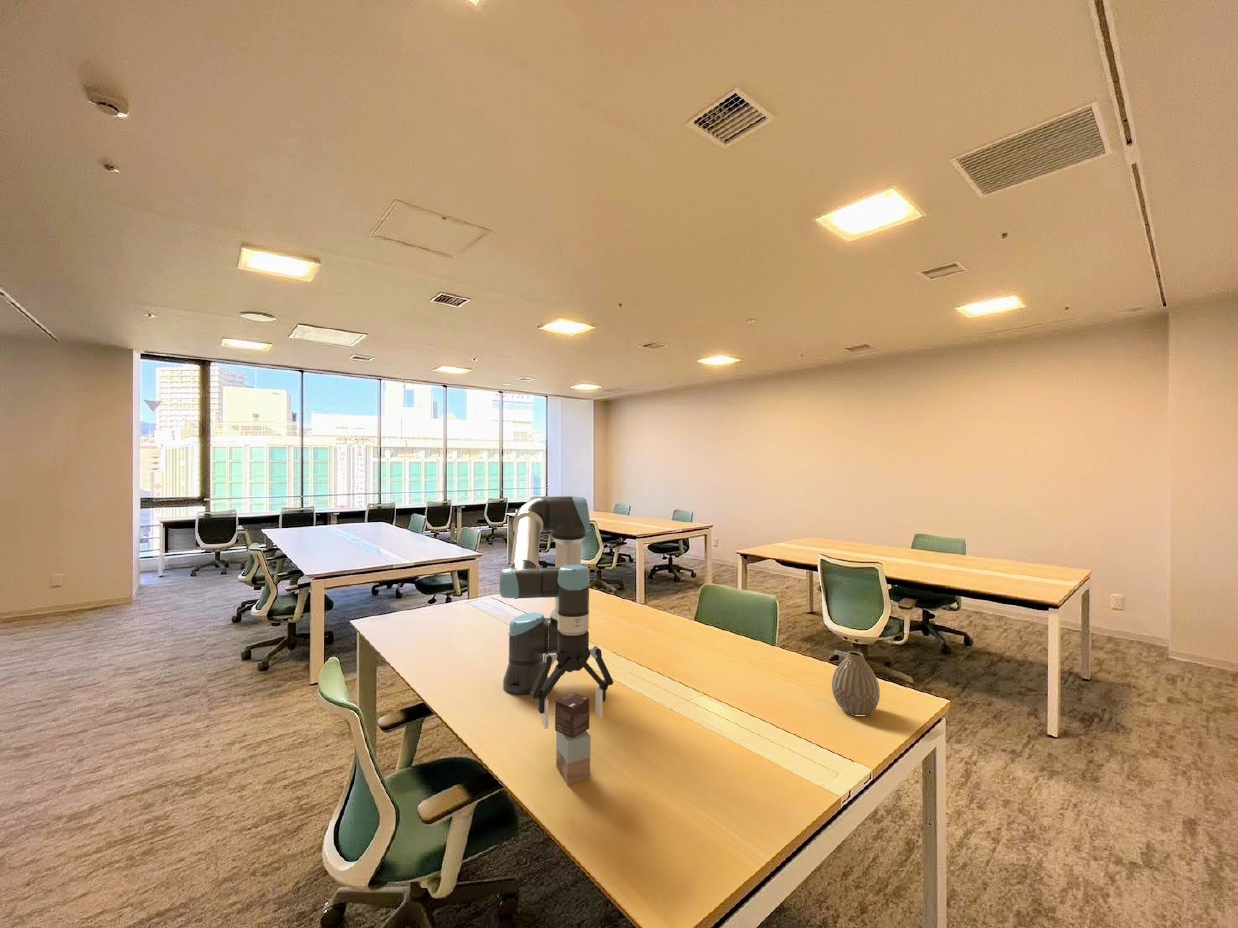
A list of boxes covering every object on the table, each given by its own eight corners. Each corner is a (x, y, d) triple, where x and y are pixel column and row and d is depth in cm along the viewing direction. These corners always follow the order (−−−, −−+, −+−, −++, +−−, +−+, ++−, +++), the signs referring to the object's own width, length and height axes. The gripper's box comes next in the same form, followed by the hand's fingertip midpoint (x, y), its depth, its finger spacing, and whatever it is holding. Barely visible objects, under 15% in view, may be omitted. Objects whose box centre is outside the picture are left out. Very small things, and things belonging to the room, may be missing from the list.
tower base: (556, 767, 120) (556, 746, 121) (577, 761, 123) (577, 741, 123) (567, 785, 113) (567, 763, 113) (589, 779, 116) (590, 757, 116)
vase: (881, 708, 152) (880, 651, 153) (878, 726, 141) (878, 664, 142) (835, 698, 159) (834, 643, 160) (829, 715, 148) (828, 655, 148)
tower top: (556, 746, 120) (556, 725, 121) (577, 741, 123) (577, 720, 123) (567, 763, 113) (568, 741, 113) (590, 757, 116) (590, 735, 116)
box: (572, 721, 123) (572, 691, 123) (590, 729, 119) (590, 698, 119) (554, 730, 118) (554, 699, 118) (572, 739, 114) (572, 707, 115)
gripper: (525, 642, 111) (524, 738, 110) (626, 629, 121) (626, 717, 120) (518, 632, 117) (517, 723, 117) (614, 621, 128) (613, 704, 127)
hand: (572, 720), depth 118 cm, fingers open, 13 cm apart
